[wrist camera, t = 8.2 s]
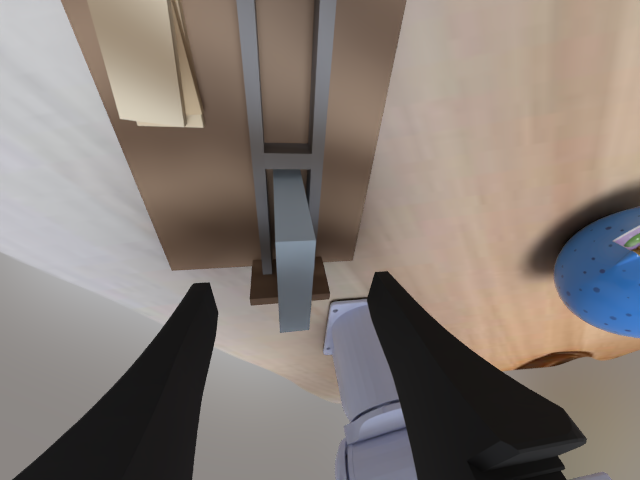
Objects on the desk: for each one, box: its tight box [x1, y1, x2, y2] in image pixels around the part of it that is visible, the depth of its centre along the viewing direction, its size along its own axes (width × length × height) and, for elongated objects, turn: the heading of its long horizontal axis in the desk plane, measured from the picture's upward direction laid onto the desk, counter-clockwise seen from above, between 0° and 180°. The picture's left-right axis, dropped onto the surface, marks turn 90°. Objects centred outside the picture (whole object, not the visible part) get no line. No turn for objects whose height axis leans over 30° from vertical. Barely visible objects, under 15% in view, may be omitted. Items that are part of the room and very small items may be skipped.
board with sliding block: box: [61, 0, 406, 305], centre depth 13 cm, size 17×13×4 cm
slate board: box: [273, 169, 316, 333], centre depth 14 cm, size 6×2×6 cm, turn 176°
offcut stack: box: [87, 0, 205, 128], centre depth 10 cm, size 6×3×2 cm, turn 176°
